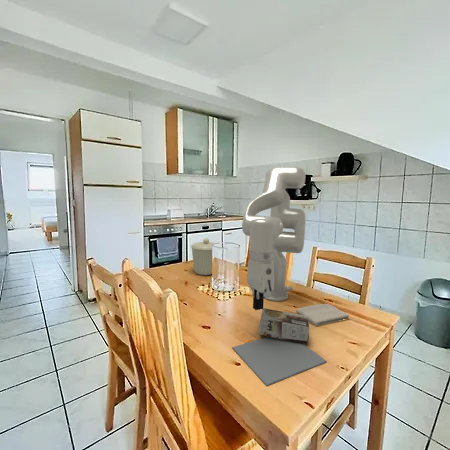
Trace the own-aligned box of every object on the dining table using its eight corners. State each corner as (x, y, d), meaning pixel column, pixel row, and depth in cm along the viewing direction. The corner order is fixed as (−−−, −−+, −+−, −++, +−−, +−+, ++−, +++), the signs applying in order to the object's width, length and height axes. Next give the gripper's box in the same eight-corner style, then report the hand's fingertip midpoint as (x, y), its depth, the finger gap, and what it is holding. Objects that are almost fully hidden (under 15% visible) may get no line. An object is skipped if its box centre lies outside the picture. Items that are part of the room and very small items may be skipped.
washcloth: (350, 320, 105) (351, 313, 104) (315, 328, 97) (316, 320, 97) (328, 307, 115) (328, 301, 115) (295, 314, 108) (295, 307, 108)
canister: (226, 273, 159) (227, 239, 156) (204, 280, 146) (205, 242, 143) (206, 266, 171) (207, 234, 168) (184, 272, 158) (184, 238, 155)
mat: (286, 332, 93) (286, 331, 93) (326, 362, 77) (326, 361, 77) (232, 348, 83) (232, 347, 83) (266, 386, 67) (266, 384, 67)
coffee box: (258, 335, 88) (307, 345, 85) (260, 317, 88) (310, 327, 84) (260, 323, 97) (305, 332, 94) (262, 307, 97) (307, 315, 93)
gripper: (284, 260, 82) (280, 316, 84) (257, 250, 95) (254, 298, 97) (264, 262, 78) (261, 320, 80) (239, 252, 91) (237, 302, 94)
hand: (258, 308), depth 89 cm, fingers closed
